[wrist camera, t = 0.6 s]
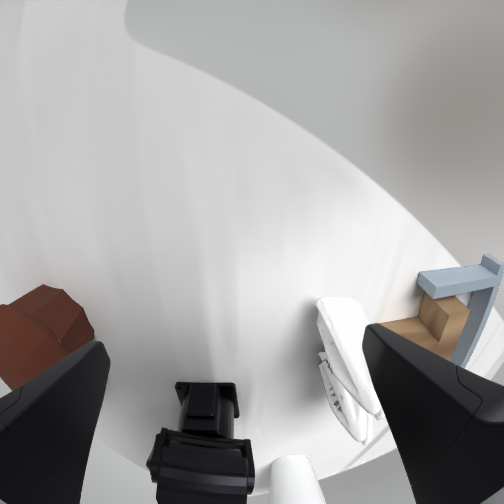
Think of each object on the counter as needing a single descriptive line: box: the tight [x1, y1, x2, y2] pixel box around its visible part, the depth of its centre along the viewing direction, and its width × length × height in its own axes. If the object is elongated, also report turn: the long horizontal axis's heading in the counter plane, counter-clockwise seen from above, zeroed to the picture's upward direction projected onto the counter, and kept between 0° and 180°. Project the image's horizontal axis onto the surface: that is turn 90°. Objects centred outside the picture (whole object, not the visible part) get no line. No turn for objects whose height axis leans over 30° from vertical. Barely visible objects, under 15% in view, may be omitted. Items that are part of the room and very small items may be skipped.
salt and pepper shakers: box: [315, 297, 385, 445], centre depth 19 cm, size 12×4×11 cm, turn 12°
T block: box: [378, 292, 470, 360], centre depth 23 cm, size 9×9×4 cm
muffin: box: [0, 284, 94, 391], centre depth 19 cm, size 12×11×10 cm
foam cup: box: [269, 455, 326, 504], centre depth 29 cm, size 10×9×13 cm
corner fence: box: [417, 254, 504, 368], centre depth 24 cm, size 16×11×3 cm
